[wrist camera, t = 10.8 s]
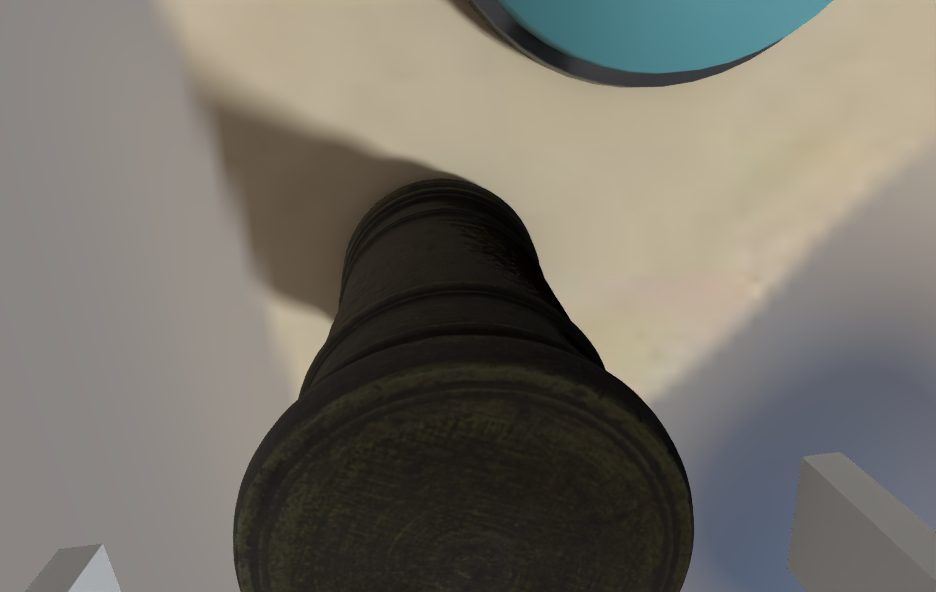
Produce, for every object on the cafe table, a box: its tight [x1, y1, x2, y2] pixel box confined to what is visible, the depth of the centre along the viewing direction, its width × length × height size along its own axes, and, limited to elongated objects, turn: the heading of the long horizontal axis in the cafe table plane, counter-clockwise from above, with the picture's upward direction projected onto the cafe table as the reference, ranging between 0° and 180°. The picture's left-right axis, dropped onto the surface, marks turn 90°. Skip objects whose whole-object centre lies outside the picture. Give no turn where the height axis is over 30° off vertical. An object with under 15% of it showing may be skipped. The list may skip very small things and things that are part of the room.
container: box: [233, 179, 694, 592], centre depth 18 cm, size 9×9×18 cm
